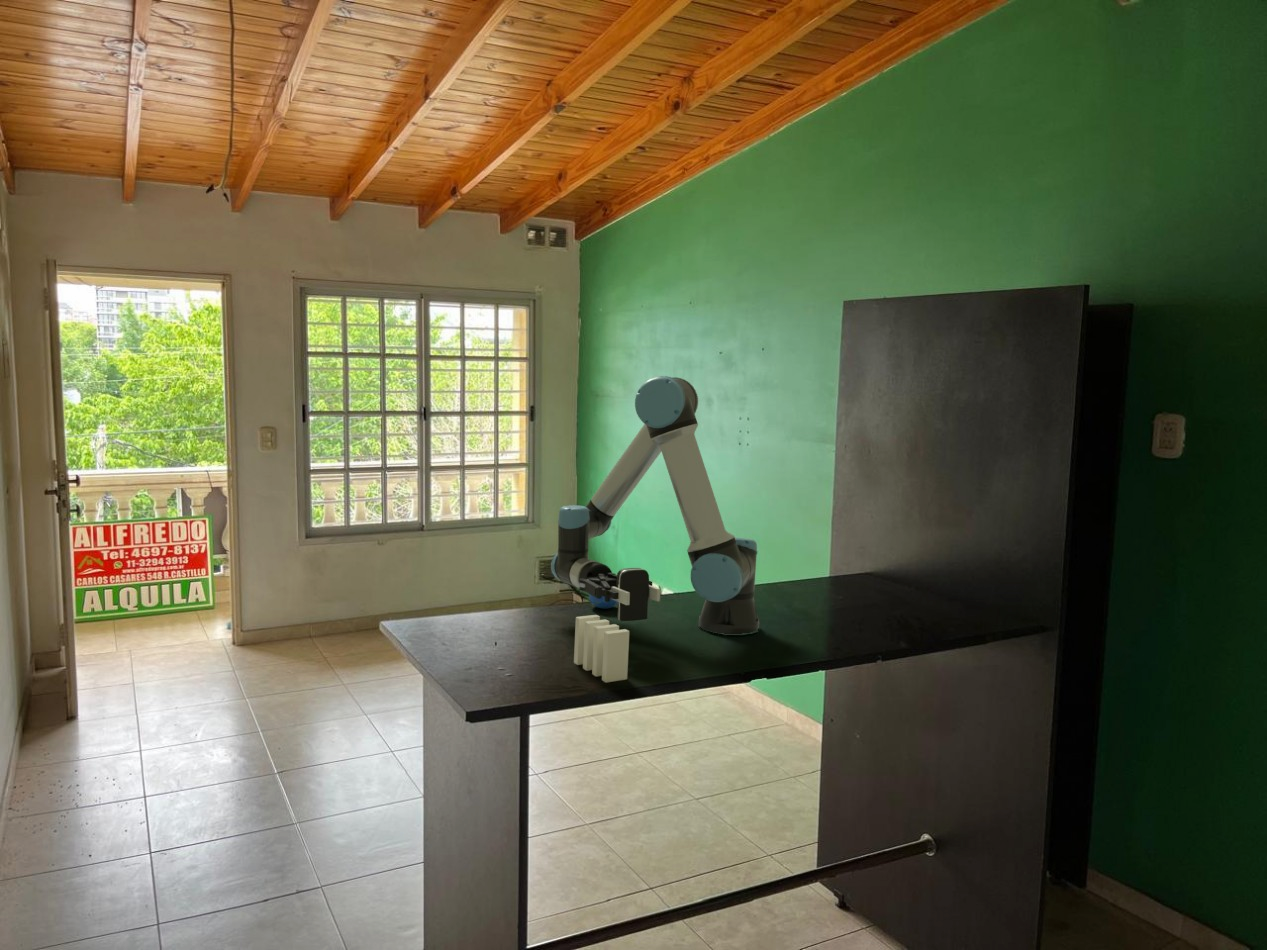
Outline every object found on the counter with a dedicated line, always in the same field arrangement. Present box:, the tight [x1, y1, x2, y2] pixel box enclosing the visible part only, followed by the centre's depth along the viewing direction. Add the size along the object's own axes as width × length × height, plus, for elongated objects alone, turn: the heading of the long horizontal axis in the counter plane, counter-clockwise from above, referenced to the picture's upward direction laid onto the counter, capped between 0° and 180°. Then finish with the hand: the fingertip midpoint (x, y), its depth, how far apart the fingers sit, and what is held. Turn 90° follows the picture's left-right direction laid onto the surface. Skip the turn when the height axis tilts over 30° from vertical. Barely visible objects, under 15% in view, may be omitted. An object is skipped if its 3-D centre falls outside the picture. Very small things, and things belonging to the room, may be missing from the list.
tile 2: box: [582, 619, 610, 672], centre depth 184 cm, size 5×2×10 cm, turn 122°
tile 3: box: [591, 623, 620, 677], centre depth 181 cm, size 5×2×10 cm, turn 122°
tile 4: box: [601, 628, 630, 683], centre depth 177 cm, size 5×2×10 cm, turn 122°
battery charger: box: [616, 567, 650, 622], centre depth 194 cm, size 7×4×11 cm, turn 113°
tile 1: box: [573, 614, 601, 666], centre depth 187 cm, size 5×2×10 cm, turn 122°
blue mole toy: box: [588, 593, 618, 610], centre depth 234 cm, size 12×12×8 cm
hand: (643, 597), depth 190 cm, fingers closed on battery charger, 7 cm apart
